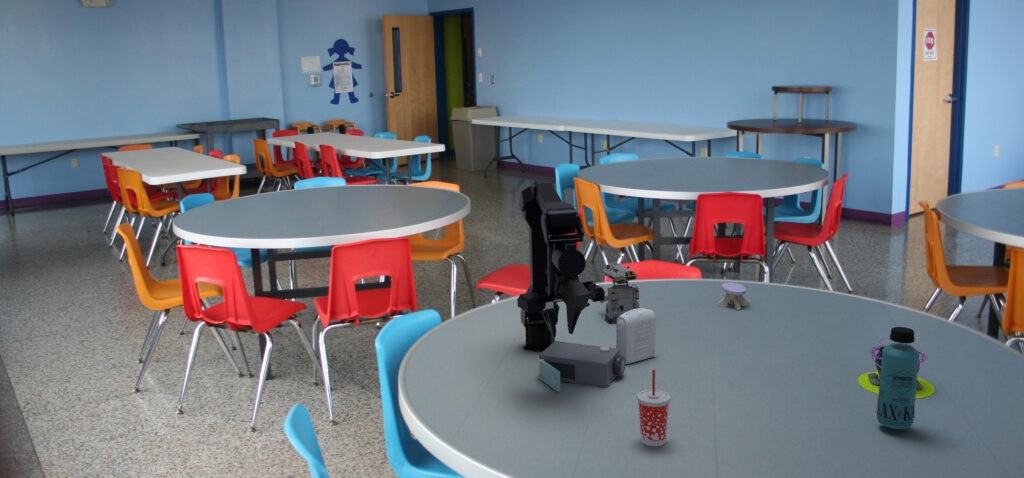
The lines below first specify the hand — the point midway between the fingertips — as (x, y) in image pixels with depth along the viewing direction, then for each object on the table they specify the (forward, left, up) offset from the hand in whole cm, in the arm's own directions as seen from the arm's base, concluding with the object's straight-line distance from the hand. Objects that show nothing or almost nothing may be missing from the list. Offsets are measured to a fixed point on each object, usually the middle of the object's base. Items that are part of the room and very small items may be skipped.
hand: (562, 335), depth 174 cm
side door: (-3, 0, -12) cm, 12 cm away
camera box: (+1, +8, -12) cm, 15 cm away
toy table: (+24, +73, -12) cm, 78 cm away
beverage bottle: (+66, +3, -12) cm, 67 cm away
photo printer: (+10, +22, -12) cm, 27 cm away
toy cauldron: (+66, +27, -12) cm, 72 cm away
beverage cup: (+25, -18, -12) cm, 33 cm away
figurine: (-3, +51, -12) cm, 53 cm away
